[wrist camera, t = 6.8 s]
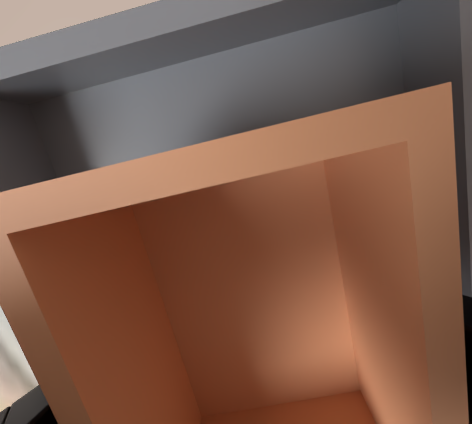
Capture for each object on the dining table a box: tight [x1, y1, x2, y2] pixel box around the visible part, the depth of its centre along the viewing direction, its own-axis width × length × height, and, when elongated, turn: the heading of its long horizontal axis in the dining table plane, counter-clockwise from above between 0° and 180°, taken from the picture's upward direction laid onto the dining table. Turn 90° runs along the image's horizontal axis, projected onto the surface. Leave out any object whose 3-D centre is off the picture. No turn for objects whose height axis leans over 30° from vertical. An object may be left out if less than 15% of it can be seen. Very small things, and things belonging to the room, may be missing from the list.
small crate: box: [0, 82, 469, 424], centre depth 7 cm, size 10×7×5 cm
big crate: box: [0, 0, 472, 297], centre depth 12 cm, size 18×16×4 cm
